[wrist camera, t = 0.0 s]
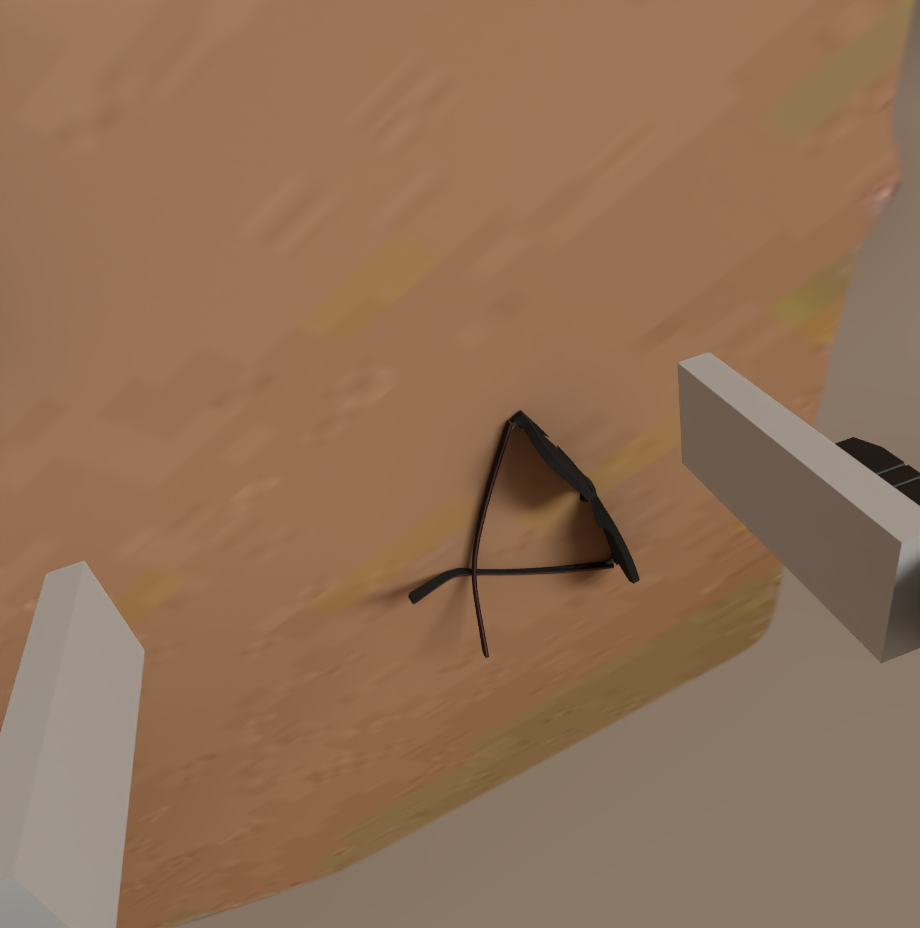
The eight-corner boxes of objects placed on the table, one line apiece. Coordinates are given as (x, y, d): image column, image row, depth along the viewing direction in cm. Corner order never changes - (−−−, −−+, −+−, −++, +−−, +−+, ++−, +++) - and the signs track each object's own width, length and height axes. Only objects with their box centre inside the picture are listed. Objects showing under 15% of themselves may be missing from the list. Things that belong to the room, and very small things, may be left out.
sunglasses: (355, 521, 50) (368, 568, 46) (533, 395, 49) (562, 432, 45) (481, 647, 60) (501, 695, 56) (633, 545, 59) (664, 586, 54)
